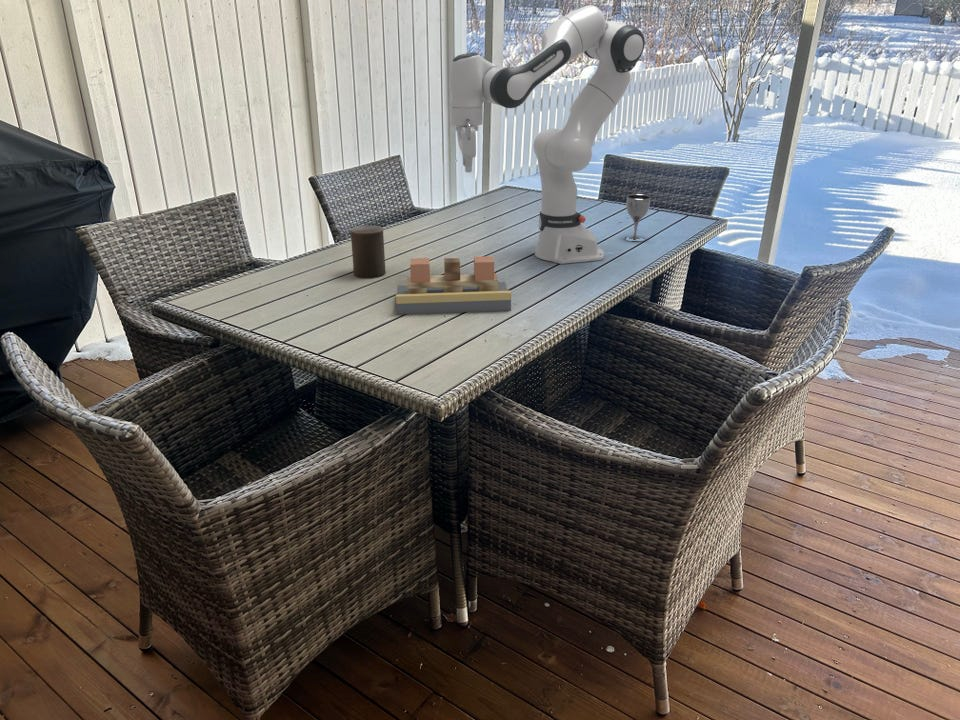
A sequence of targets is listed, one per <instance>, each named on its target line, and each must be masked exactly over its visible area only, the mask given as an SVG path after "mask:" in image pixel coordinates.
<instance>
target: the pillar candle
mask: <svg viewBox="0 0 960 720" xmlns="http://www.w3.org/2000/svg"><path fill="white" fill-rule="evenodd" d="M350 239H351V240H350V241H351V251H352V252H351V253H352V265H353V266H352V269H353V270H352V271H353V274H354V276H355V277H357V278H361V279H362V278H363V279H364V278H365V279H375V278H379V277H382V276H385V274H386V253H385V239H384V228H383V227H381V226H379V225H359V226H358V225H357V226H354V227H352V228H351V229H350Z"/></svg>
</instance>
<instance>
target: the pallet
mask: <svg viewBox="0 0 960 720" xmlns="http://www.w3.org/2000/svg"><path fill="white" fill-rule="evenodd" d="M443 265H444V267H443V268H444V274H442V275H441V274H439V275H438V274H437V275H430V282H420V283H411V275H409V276H407V280H406V282H407V283H406V285H407V286H408V294H426V293H427V288H440V287H443V292H444V293H455V292H463V287H470V286H478V291H479V292H485V291H498V282H499V279H498V276H497V273H494V280H481V281H476V280H475V276H474V273H472V274H471V273H469V274H461V260H460V257H453V258H451V257H448V258H443Z"/></svg>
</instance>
